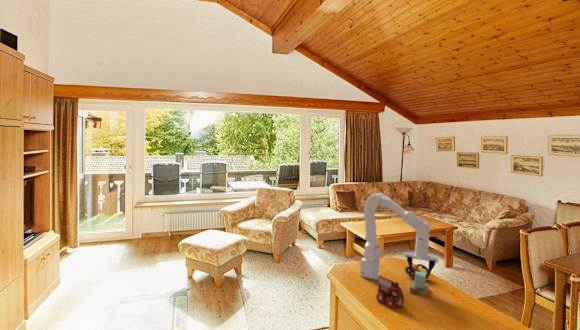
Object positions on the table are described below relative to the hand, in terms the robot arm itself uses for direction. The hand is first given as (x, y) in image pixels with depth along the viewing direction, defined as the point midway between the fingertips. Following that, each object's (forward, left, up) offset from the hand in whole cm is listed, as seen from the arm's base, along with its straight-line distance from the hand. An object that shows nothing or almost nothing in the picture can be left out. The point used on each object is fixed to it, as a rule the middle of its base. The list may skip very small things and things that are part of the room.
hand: (419, 274), depth 147 cm
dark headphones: (-1, +15, -9) cm, 17 cm away
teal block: (0, 0, -6) cm, 6 cm away
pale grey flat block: (0, 0, -9) cm, 9 cm away
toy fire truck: (-12, -18, -9) cm, 23 cm away
